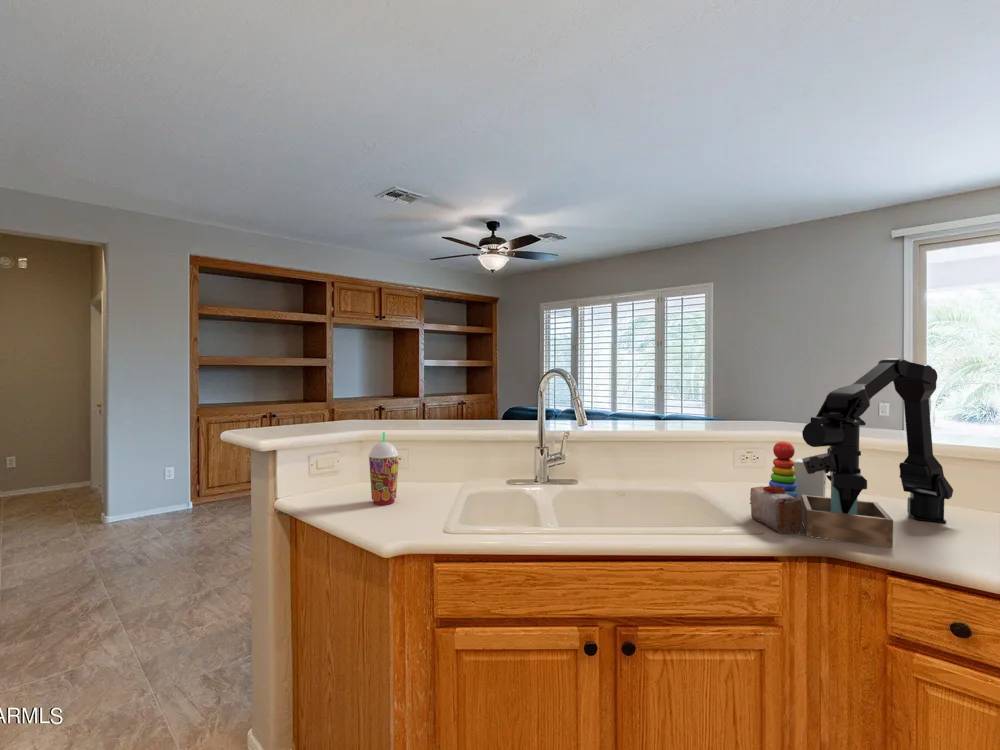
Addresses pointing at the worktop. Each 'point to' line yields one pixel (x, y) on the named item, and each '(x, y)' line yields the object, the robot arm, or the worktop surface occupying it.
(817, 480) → the supplement box
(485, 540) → the worktop surface
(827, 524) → the bore box
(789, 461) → the stacking toy
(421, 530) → the worktop surface
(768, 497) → the weathered brown brick
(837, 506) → the peg
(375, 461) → the smoothie
